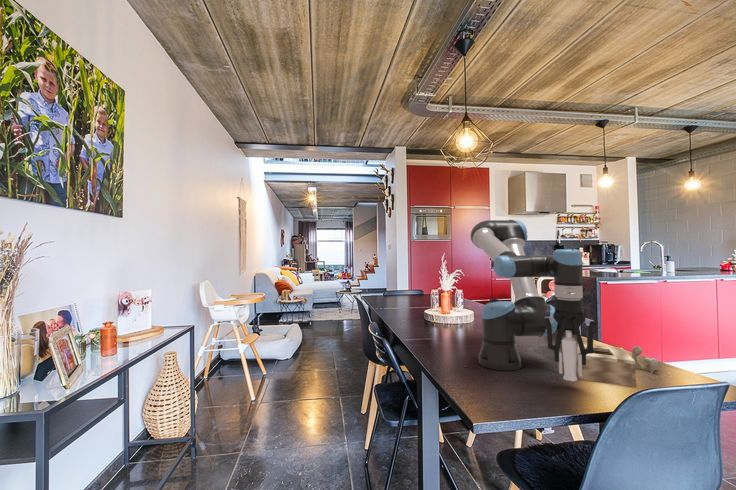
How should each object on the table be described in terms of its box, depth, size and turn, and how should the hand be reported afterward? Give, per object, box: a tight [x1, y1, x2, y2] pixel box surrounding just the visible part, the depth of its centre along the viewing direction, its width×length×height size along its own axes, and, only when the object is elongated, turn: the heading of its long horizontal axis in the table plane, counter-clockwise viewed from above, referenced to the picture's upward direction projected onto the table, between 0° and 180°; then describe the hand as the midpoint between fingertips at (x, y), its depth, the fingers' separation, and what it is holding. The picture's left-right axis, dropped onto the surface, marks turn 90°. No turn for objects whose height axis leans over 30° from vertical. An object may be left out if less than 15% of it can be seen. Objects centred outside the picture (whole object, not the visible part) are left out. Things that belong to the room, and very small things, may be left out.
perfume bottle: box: [561, 329, 578, 382], centre depth 100 cm, size 5×4×15 cm
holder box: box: [576, 343, 637, 388], centre depth 110 cm, size 16×16×8 cm
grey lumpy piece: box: [631, 345, 660, 374], centre depth 114 cm, size 9×6×10 cm
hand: (570, 373), depth 99 cm, fingers closed on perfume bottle, 4 cm apart
